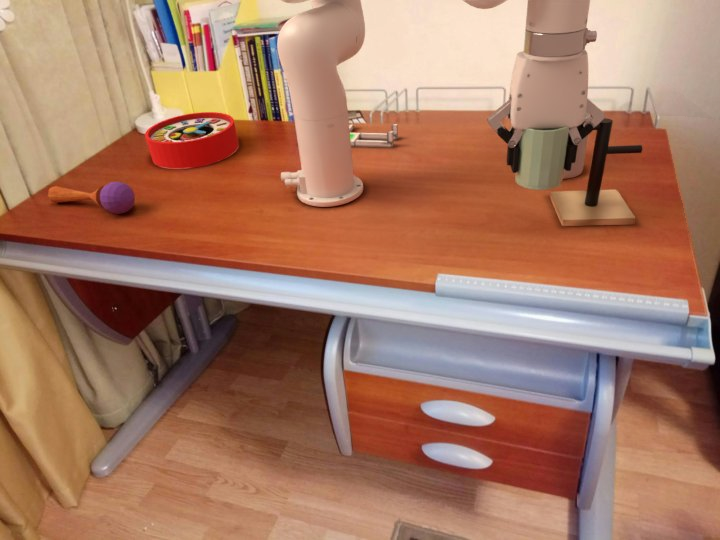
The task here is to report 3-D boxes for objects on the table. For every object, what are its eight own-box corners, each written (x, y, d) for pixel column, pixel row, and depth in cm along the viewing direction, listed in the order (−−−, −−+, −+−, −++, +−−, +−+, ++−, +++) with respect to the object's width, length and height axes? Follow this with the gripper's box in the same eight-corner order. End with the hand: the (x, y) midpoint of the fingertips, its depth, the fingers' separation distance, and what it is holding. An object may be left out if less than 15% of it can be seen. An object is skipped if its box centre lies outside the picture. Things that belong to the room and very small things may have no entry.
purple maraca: (64, 176, 111) (137, 178, 103) (72, 204, 114) (144, 209, 106) (37, 183, 106) (112, 186, 98) (46, 213, 109) (121, 218, 101)
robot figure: (403, 129, 129) (315, 127, 135) (402, 115, 127) (313, 114, 133) (386, 157, 116) (290, 154, 122) (385, 142, 114) (288, 140, 120)
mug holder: (513, 227, 88) (522, 136, 80) (505, 199, 97) (512, 113, 88) (637, 224, 86) (659, 130, 78) (618, 195, 94) (636, 107, 86)
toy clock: (125, 136, 123) (191, 108, 136) (134, 160, 126) (197, 131, 140) (187, 148, 113) (251, 117, 127) (194, 174, 117) (256, 141, 130)
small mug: (566, 189, 80) (575, 129, 75) (518, 191, 81) (523, 132, 76) (551, 158, 89) (558, 103, 84) (508, 160, 90) (512, 105, 85)
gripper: (614, 32, 74) (593, 155, 84) (483, 40, 76) (478, 160, 86) (632, 45, 68) (607, 176, 78) (489, 54, 70) (483, 181, 80)
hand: (539, 167), depth 82 cm, fingers closed on small mug, 7 cm apart
